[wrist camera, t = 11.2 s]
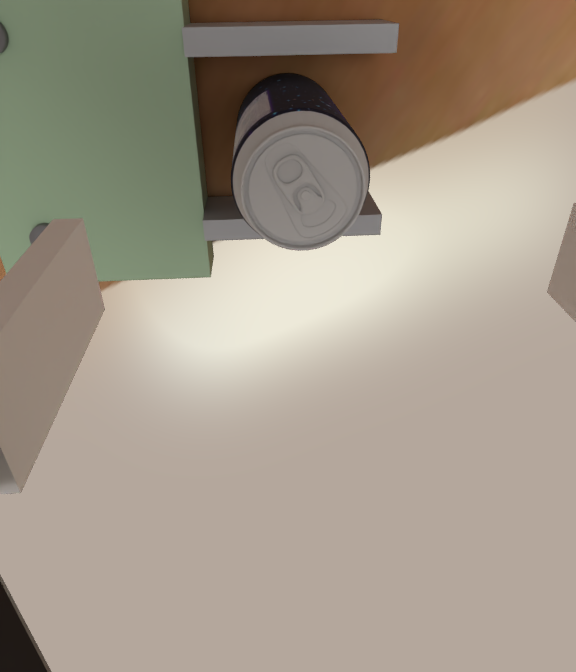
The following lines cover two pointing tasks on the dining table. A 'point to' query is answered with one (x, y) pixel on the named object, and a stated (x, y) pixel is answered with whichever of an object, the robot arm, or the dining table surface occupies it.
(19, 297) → the robot arm
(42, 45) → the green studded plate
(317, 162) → the beverage can
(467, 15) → the dining table surface
